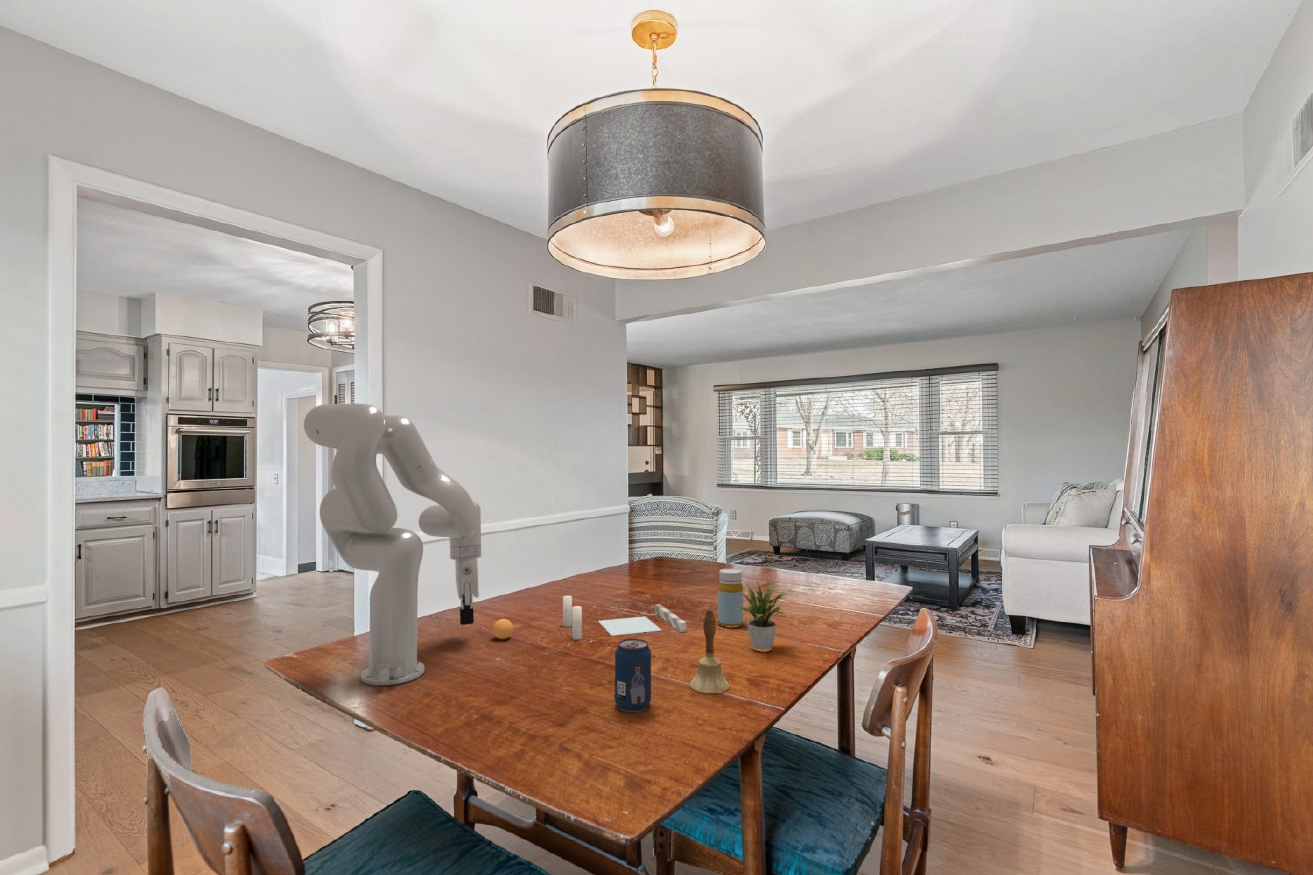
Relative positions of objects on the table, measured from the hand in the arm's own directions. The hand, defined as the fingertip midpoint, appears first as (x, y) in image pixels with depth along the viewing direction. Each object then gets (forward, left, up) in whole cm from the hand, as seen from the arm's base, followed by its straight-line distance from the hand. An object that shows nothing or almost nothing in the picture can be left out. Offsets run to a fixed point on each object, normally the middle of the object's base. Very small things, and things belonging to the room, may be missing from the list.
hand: (466, 623), depth 157 cm
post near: (-7, -27, -5) cm, 28 cm away
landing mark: (-1, -43, -5) cm, 43 cm away
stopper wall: (-1, -55, -5) cm, 55 cm away
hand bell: (-47, -46, -5) cm, 66 cm away
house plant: (-31, -68, -5) cm, 75 cm away
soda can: (-51, -28, -5) cm, 58 cm away
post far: (+5, -27, -5) cm, 28 cm away
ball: (-1, -9, -2) cm, 9 cm away
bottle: (-9, -70, -5) cm, 71 cm away
